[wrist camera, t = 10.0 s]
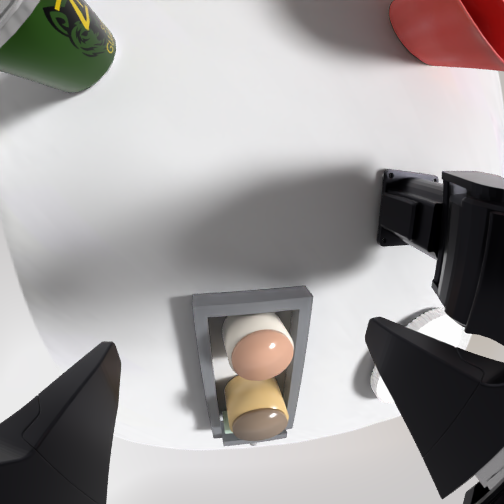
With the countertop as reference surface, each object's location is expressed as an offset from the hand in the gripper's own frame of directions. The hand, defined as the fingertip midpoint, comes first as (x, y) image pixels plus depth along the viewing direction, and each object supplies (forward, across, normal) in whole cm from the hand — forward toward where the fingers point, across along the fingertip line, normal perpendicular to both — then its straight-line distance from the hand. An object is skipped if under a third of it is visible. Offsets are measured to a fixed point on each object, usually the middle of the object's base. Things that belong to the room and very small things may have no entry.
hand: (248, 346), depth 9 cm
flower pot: (+12, -18, -20) cm, 30 cm away
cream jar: (+12, -2, +8) cm, 15 cm away
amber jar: (+12, -2, +16) cm, 20 cm away
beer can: (+12, +10, -14) cm, 21 cm away
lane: (+12, -2, +14) cm, 18 cm away
